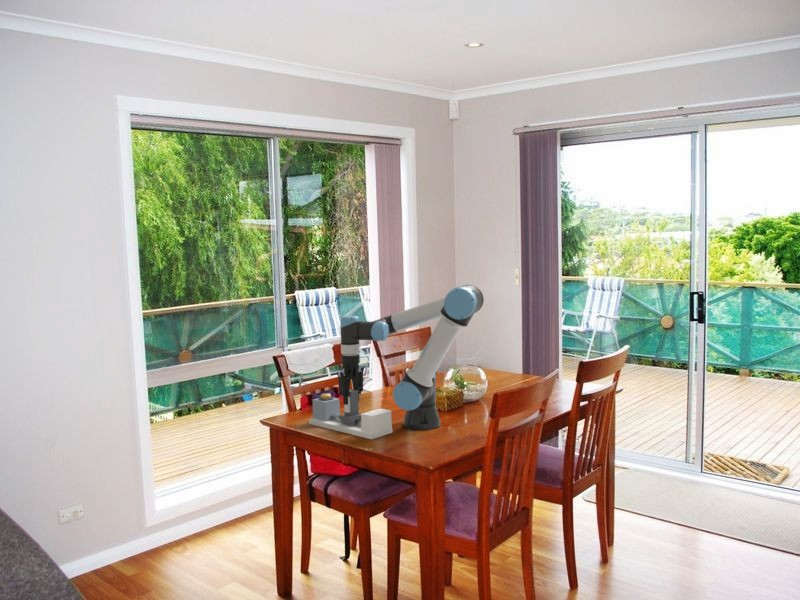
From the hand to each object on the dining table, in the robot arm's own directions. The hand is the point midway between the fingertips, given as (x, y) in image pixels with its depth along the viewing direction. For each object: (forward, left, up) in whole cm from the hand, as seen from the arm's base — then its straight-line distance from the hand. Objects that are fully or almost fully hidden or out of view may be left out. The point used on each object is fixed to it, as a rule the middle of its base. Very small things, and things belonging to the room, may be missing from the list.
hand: (351, 410), depth 294 cm
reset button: (+15, 0, 0) cm, 15 cm away
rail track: (+1, 0, -7) cm, 8 cm away
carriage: (0, 0, -5) cm, 5 cm away
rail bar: (0, 0, -5) cm, 5 cm away
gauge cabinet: (+15, 0, -5) cm, 16 cm away
